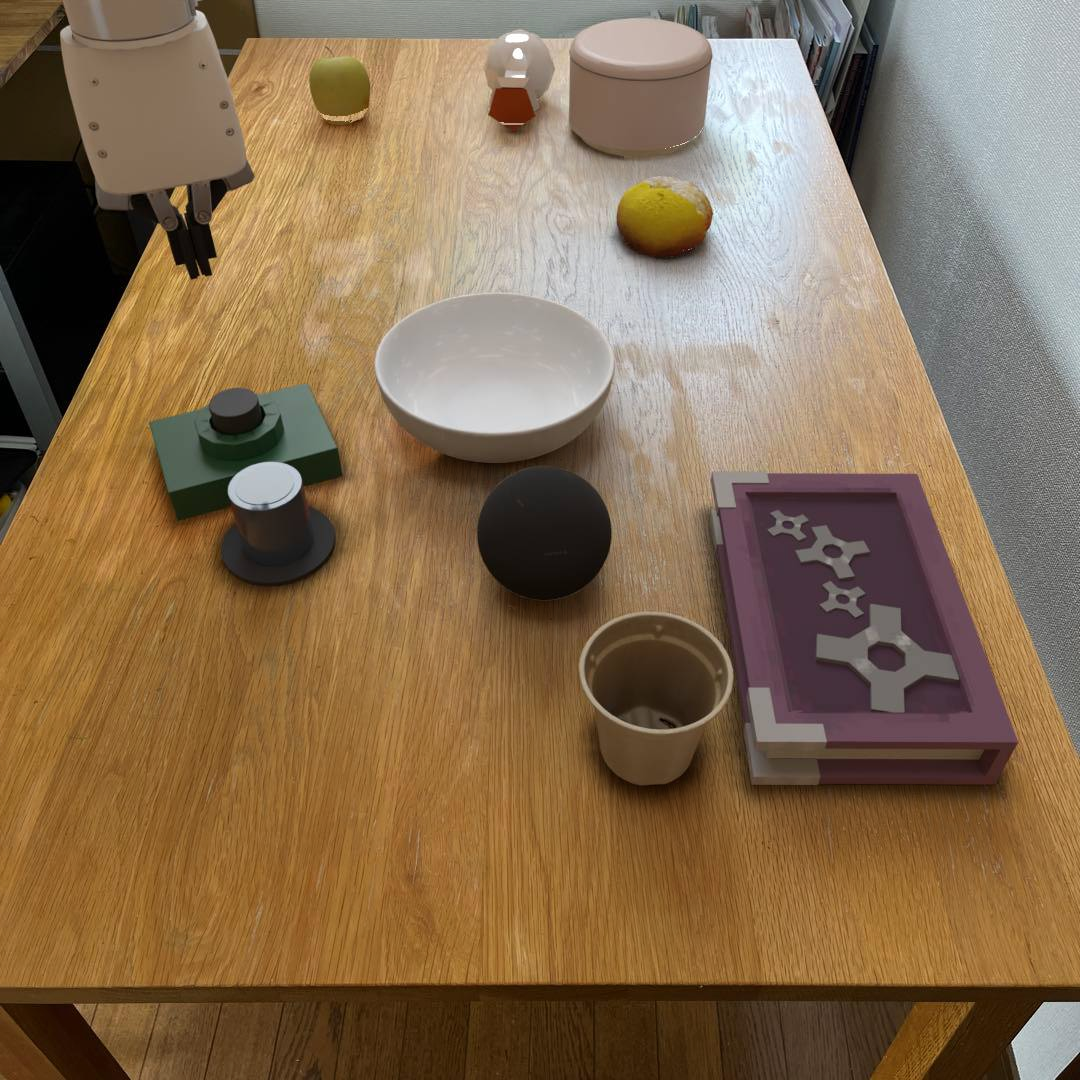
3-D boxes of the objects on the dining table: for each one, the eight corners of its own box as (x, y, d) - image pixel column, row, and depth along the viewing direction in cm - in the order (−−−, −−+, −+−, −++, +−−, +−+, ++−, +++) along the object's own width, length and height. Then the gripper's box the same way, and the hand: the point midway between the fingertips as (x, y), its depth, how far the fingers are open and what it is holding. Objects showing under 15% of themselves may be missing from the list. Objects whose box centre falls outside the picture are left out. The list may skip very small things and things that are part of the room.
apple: (360, 129, 137) (331, 49, 131) (315, 136, 141) (284, 59, 135) (392, 106, 142) (365, 29, 136) (347, 114, 146) (319, 40, 140)
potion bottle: (532, 96, 150) (523, 153, 141) (475, 56, 146) (462, 112, 137) (570, 45, 144) (563, 102, 135) (512, 2, 140) (500, 57, 131)
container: (554, 154, 134) (555, 60, 125) (582, 99, 146) (585, 10, 138) (694, 168, 131) (704, 72, 122) (711, 110, 143) (721, 20, 135)
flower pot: (702, 827, 66) (718, 750, 60) (559, 789, 68) (560, 710, 62) (727, 710, 72) (744, 629, 66) (596, 679, 74) (600, 597, 68)
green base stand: (177, 521, 86) (162, 475, 82) (158, 449, 92) (142, 404, 89) (343, 476, 89) (334, 430, 86) (313, 410, 96) (304, 365, 92)
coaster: (234, 599, 79) (233, 596, 79) (212, 524, 85) (210, 521, 85) (349, 565, 82) (348, 562, 82) (319, 495, 88) (318, 491, 88)
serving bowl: (432, 524, 85) (425, 460, 80) (352, 385, 99) (342, 323, 94) (653, 453, 91) (659, 390, 87) (550, 332, 105) (550, 271, 100)
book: (705, 516, 86) (712, 471, 82) (901, 517, 86) (917, 471, 82) (746, 785, 68) (757, 741, 64) (994, 786, 68) (1019, 743, 64)
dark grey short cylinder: (219, 441, 86) (213, 421, 84) (209, 413, 88) (204, 394, 87) (267, 428, 87) (262, 409, 85) (256, 402, 89) (252, 382, 88)
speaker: (547, 649, 76) (548, 554, 69) (453, 581, 81) (444, 485, 74) (635, 576, 81) (643, 480, 74) (541, 516, 86) (540, 420, 79)
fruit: (734, 243, 117) (726, 183, 110) (655, 288, 116) (642, 230, 109) (681, 198, 124) (671, 140, 117) (606, 241, 123) (592, 184, 116)
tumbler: (251, 574, 81) (235, 518, 76) (236, 528, 84) (220, 472, 80) (322, 554, 82) (310, 497, 78) (304, 509, 86) (292, 453, 82)
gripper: (237, -29, 69) (285, 226, 82) (-3, 2, 65) (87, 266, 78) (262, 6, 64) (309, 272, 77) (5, 42, 60) (100, 317, 73)
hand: (198, 268), depth 77 cm, fingers closed
